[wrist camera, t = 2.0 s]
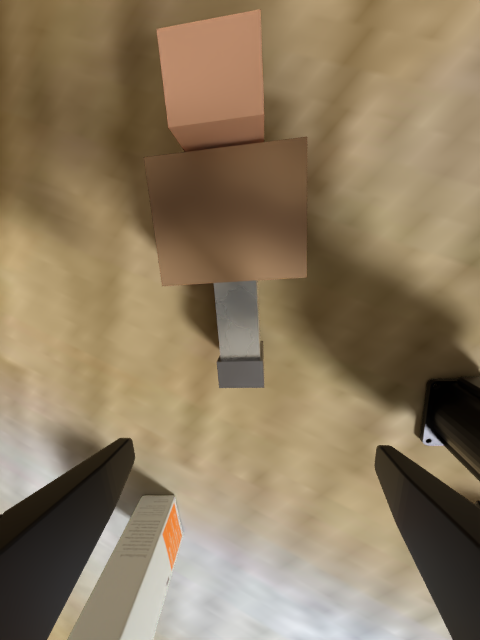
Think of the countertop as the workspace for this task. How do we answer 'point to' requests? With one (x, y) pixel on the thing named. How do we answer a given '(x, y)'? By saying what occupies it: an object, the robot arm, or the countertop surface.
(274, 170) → the block
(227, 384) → the shaft
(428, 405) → the robot arm
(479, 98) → the countertop surface
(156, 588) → the skincare box
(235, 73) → the block
